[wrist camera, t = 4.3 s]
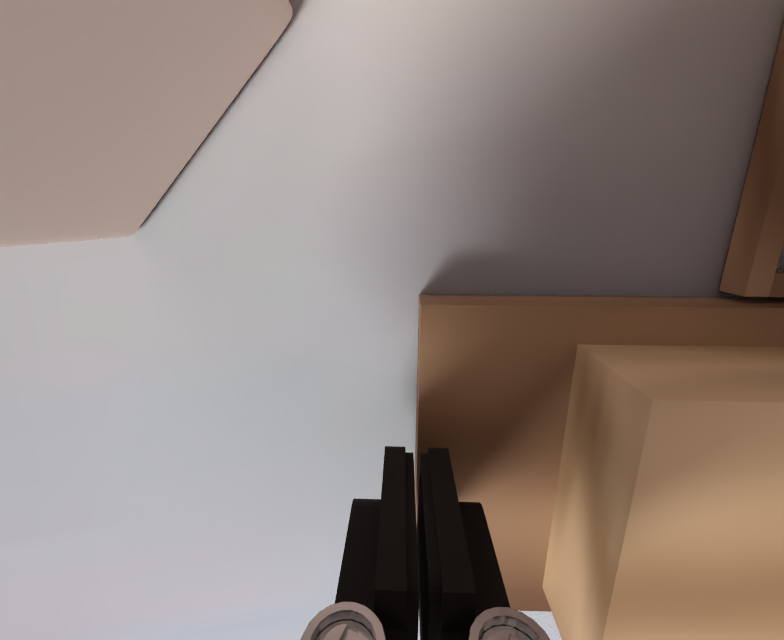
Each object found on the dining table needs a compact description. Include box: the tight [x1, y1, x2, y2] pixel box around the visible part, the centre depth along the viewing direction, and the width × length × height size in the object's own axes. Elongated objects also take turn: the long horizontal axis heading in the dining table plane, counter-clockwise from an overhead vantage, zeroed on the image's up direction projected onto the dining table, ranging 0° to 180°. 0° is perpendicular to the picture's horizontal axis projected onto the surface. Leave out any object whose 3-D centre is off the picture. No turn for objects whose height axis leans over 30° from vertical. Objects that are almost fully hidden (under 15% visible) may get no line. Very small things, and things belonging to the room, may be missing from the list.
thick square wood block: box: [542, 344, 784, 640], centre depth 9 cm, size 8×8×3 cm
